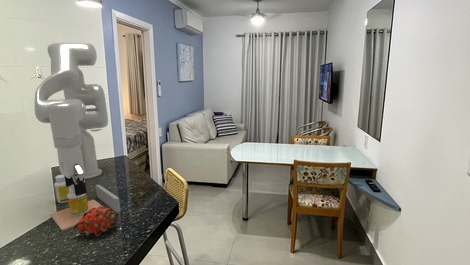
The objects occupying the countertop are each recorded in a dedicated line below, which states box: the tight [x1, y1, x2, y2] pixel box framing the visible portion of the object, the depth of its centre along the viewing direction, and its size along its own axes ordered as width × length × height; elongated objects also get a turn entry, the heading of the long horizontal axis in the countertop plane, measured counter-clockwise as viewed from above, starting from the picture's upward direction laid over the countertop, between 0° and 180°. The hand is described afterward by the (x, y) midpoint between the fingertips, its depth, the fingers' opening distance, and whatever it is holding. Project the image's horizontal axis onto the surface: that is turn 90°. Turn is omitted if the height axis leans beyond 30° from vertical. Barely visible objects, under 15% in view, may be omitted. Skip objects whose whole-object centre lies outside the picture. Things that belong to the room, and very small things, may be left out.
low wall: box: [95, 184, 122, 214], centre depth 96 cm, size 18×1×5 cm, turn 47°
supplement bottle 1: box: [53, 173, 69, 204], centre depth 100 cm, size 5×5×10 cm
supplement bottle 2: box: [67, 185, 88, 216], centre depth 89 cm, size 5×5×10 cm
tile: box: [49, 199, 102, 232], centre depth 90 cm, size 14×14×1 cm
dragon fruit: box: [73, 205, 119, 237], centre depth 79 cm, size 8×8×12 cm
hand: (76, 189), depth 89 cm, fingers open, 9 cm apart
